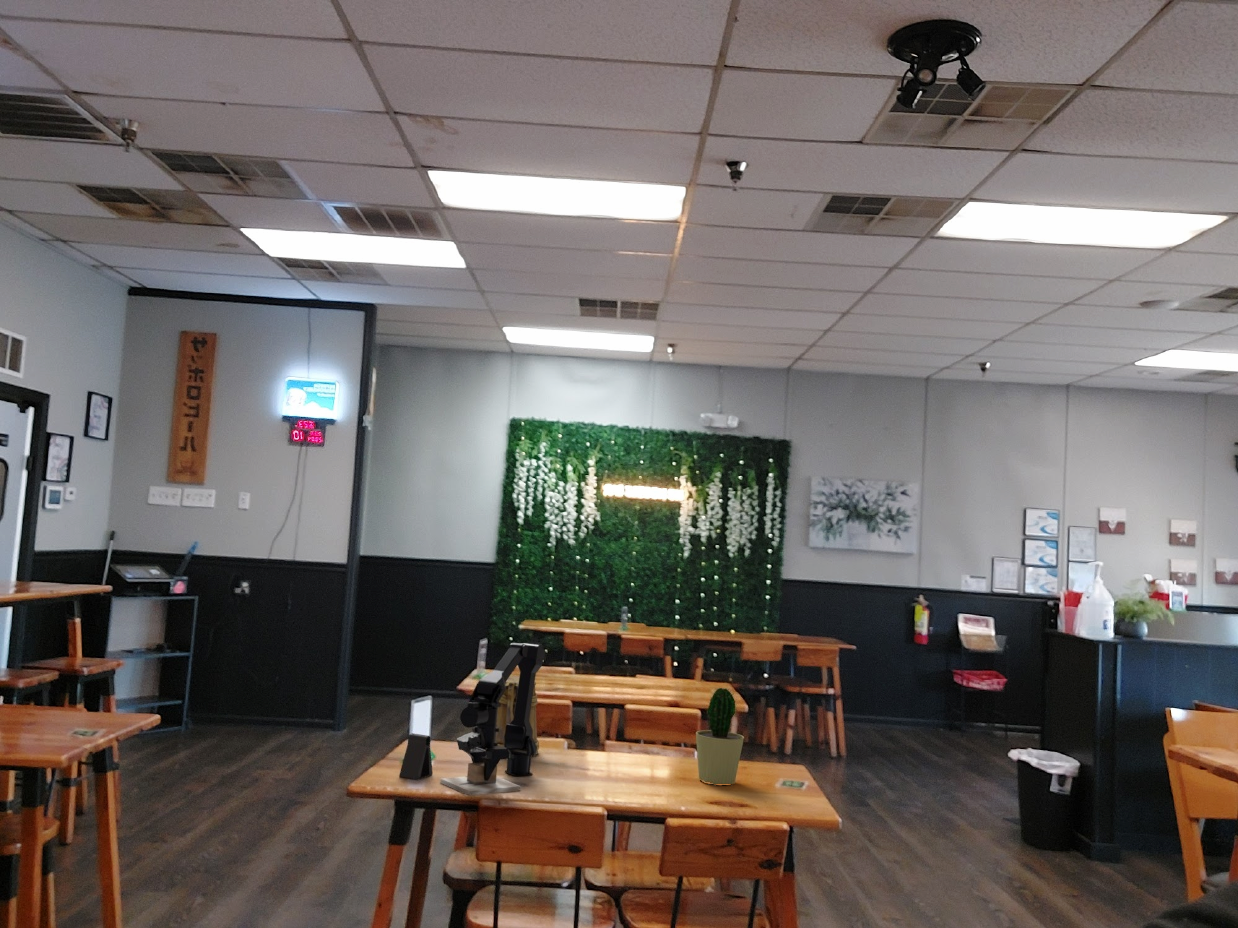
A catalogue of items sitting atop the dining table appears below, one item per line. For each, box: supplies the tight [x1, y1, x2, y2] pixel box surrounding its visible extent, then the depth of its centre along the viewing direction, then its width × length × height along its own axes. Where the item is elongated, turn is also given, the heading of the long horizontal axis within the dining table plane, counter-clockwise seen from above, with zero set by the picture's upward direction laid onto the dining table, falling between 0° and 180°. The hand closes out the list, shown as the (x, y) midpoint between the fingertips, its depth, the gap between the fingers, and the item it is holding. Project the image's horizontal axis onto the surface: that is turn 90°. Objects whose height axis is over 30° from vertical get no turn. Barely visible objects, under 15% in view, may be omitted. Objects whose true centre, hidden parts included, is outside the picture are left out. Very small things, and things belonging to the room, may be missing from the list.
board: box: [440, 775, 522, 797], centre depth 293 cm, size 17×16×1 cm
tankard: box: [494, 675, 540, 756], centre depth 344 cm, size 18×24×25 cm
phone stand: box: [398, 732, 434, 781], centre depth 300 cm, size 9×6×12 cm, turn 160°
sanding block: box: [466, 762, 498, 784], centre depth 293 cm, size 7×4×5 cm, turn 130°
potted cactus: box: [695, 687, 745, 785], centre depth 325 cm, size 15×15×30 cm
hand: (481, 778), depth 293 cm, fingers closed on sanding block, 4 cm apart
